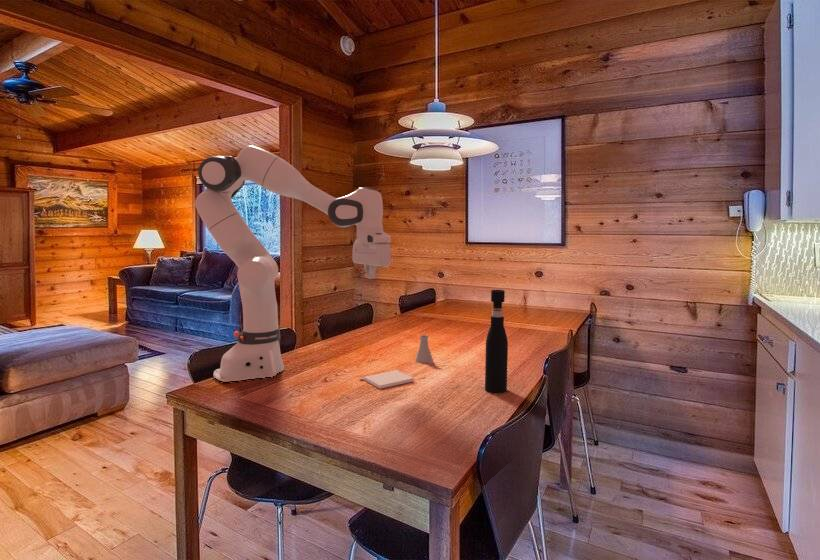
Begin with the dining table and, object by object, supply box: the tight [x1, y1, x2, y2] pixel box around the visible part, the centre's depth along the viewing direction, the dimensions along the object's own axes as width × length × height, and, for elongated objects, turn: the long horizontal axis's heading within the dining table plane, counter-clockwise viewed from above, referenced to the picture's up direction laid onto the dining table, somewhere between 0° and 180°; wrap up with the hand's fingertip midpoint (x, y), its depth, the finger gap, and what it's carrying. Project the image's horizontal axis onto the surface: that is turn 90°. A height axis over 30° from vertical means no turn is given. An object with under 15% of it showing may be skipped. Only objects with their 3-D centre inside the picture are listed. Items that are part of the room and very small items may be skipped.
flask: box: [414, 334, 435, 366], centre depth 167 cm, size 7×7×10 cm
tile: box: [363, 369, 415, 390], centre depth 145 cm, size 12×1×10 cm
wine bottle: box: [484, 289, 509, 394], centre depth 139 cm, size 6×6×30 cm
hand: (370, 278), depth 159 cm, fingers closed
